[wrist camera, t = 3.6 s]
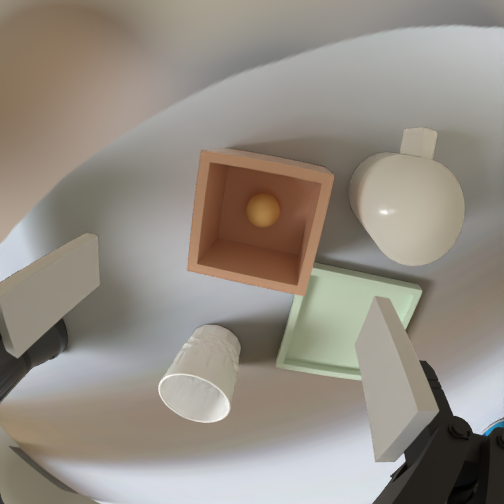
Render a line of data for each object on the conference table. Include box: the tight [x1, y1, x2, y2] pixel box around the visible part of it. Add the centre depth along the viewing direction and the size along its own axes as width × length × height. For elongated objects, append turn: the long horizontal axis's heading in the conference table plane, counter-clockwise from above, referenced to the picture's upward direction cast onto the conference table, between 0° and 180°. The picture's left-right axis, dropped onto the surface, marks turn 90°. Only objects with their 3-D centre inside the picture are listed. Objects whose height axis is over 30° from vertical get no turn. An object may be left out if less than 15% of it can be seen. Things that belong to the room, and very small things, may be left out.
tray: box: [275, 262, 423, 380], centre depth 33 cm, size 14×14×2 cm
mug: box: [349, 128, 465, 266], centre depth 24 cm, size 8×11×9 cm
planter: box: [187, 148, 335, 296], centre depth 27 cm, size 10×10×8 cm
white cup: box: [159, 325, 241, 423], centre depth 33 cm, size 8×8×10 cm
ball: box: [246, 193, 280, 228], centre depth 28 cm, size 3×3×3 cm
